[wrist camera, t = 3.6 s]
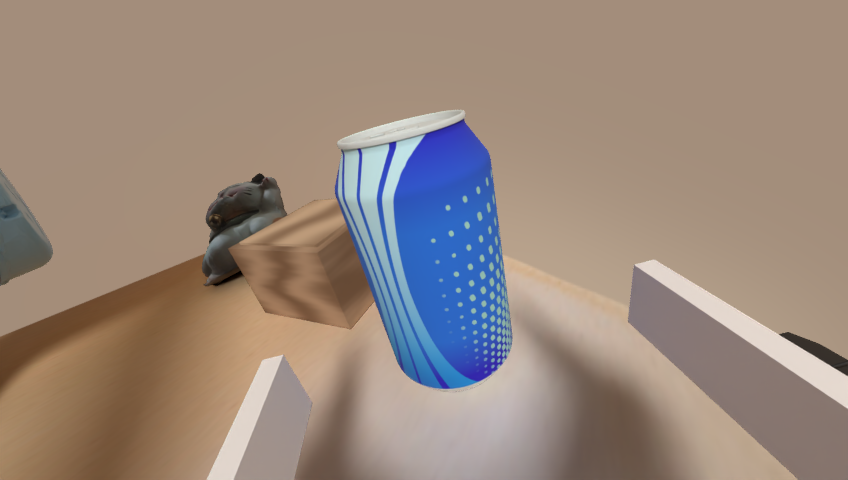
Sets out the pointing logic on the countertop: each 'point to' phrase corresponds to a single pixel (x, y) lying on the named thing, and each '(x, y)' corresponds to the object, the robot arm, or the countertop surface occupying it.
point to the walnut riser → (307, 267)
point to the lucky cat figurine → (238, 222)
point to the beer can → (429, 245)
